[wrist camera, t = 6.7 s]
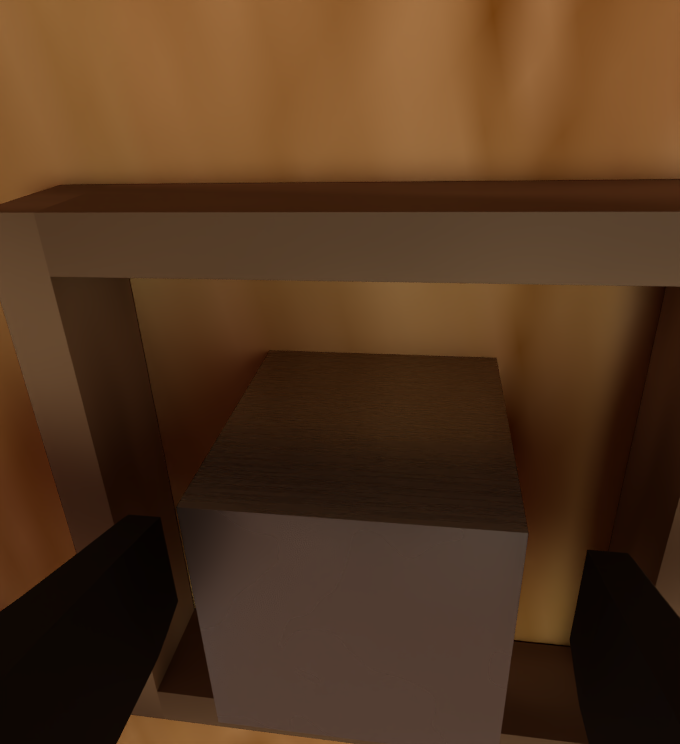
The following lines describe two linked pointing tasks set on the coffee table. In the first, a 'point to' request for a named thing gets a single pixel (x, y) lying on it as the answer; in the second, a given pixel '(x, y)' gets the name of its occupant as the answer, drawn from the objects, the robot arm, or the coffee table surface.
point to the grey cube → (361, 549)
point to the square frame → (320, 263)
